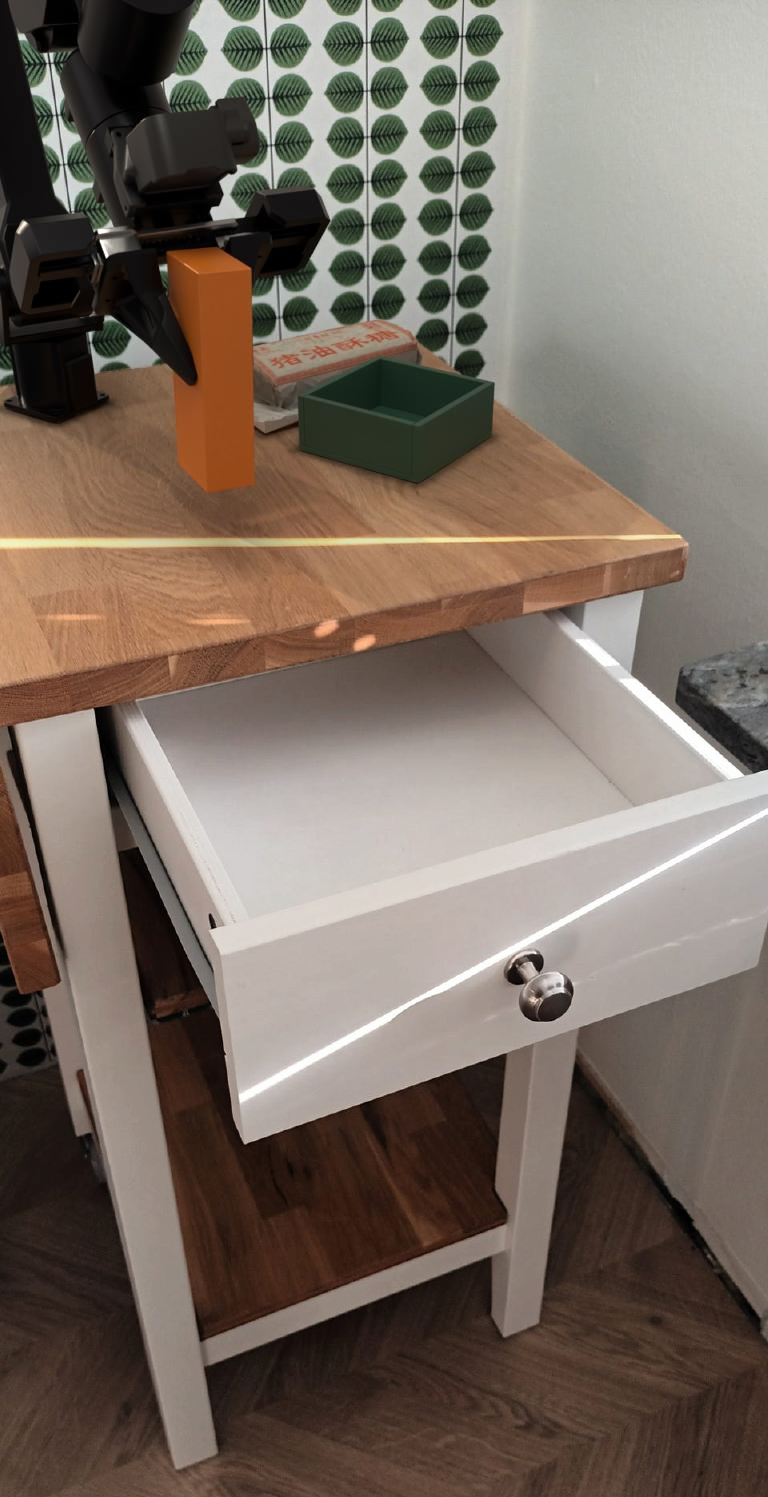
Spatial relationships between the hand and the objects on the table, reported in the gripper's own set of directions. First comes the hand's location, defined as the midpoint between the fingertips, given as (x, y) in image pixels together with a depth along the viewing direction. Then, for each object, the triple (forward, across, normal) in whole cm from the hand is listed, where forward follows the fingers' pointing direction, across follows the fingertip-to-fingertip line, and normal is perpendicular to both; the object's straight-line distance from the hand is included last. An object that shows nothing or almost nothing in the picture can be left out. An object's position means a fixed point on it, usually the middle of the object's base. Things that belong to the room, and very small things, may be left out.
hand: (221, 377), depth 74 cm
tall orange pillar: (+4, 0, +6) cm, 7 cm away
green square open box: (-1, +21, +20) cm, 29 cm away
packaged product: (-9, +21, +29) cm, 36 cm away
